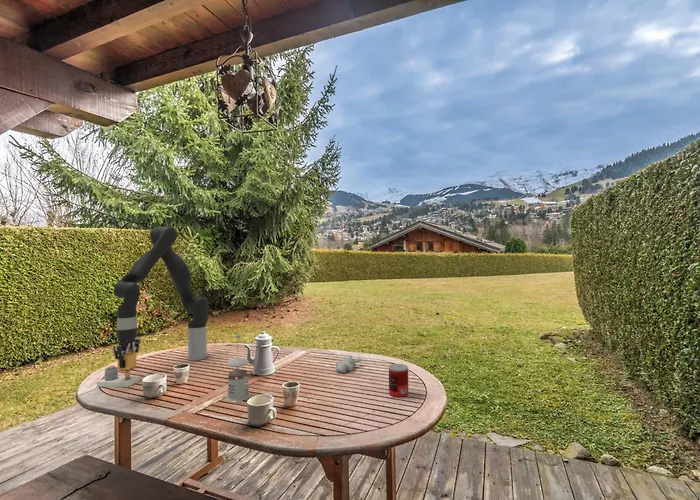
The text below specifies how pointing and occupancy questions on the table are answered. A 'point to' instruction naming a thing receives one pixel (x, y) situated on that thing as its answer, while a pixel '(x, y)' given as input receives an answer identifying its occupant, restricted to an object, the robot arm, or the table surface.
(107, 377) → the capped post
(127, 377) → the copper post
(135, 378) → the white rectangular plate
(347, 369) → the bunny figurine
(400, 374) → the canned food
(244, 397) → the french press
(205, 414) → the table surface
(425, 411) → the table surface
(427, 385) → the table surface
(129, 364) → the domed tan cube
